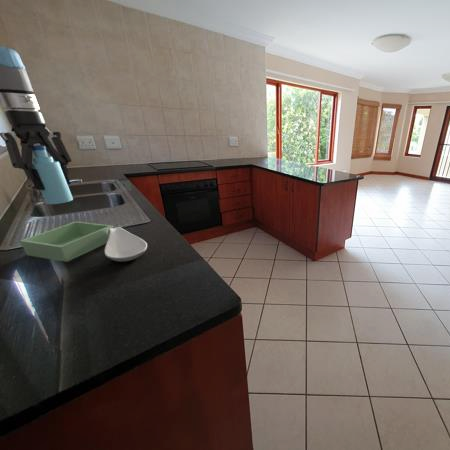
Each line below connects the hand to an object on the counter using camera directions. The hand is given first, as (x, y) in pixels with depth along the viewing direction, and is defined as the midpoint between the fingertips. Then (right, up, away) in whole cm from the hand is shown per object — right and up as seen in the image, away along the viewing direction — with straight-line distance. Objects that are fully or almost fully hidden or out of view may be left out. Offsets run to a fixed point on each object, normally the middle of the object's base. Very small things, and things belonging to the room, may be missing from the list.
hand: (54, 186), depth 79 cm
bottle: (0, -5, +2) cm, 5 cm away
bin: (0, -21, +8) cm, 23 cm away
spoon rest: (+19, -22, +6) cm, 30 cm away
